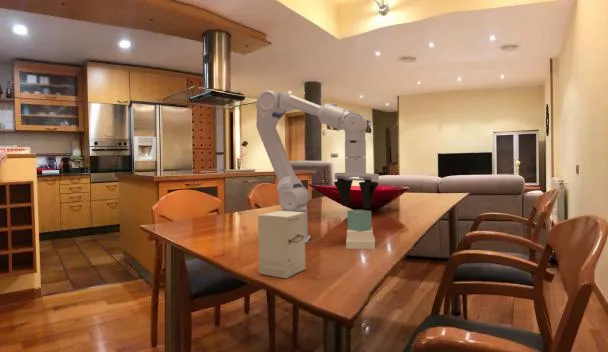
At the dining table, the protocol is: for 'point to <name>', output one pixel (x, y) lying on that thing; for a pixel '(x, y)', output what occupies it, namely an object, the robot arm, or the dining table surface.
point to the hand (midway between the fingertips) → (355, 206)
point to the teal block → (359, 220)
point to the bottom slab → (361, 244)
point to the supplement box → (281, 243)
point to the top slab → (360, 235)
